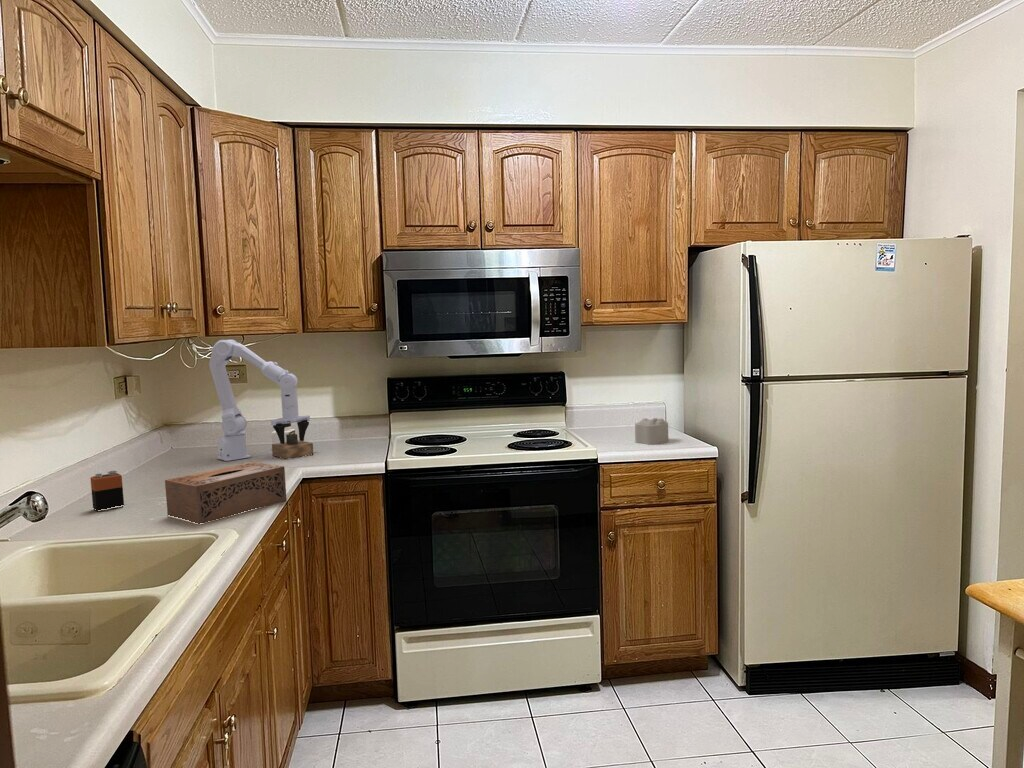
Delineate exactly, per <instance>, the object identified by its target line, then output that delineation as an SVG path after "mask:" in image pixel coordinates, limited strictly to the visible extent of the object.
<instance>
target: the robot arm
mask: <svg viewBox="0 0 1024 768" xmlns="http://www.w3.org/2000/svg"><path fill="white" fill-rule="evenodd" d="M233 358H241V359H244V360H246V361H247V362H249V363H250V364H252V365H254V366H256V367H257V368H259V370H261V374H262V375H263V376H265V377H266V378H268V379H270V380H271V381H272V382H274V383H275V384H277V386H278V387H279V388H280V391H281V392H280V393H281V394H280V397H281V398H280V399H281V412H282V413H281V414H282V415H281V416H282V417H280V419H279V418H276V419H275V418H274V419H271V420H270V426H272V428H273V429H274V431H276V433H277V435H278V437H279V440H280V444H285V439H284V429H285V426H283V425H282V424H287V423H291V424H293V423H295V424H297V428H298V437H299V439H298V440H300V441H305V435H306V432H307V429H308V428H309V427H308V426H309V424H310V422H311V416H310V415H299V402H298V392H297V391H298V390H297V386H298V383H299V380H298V379H299V378H298V377H297V376H296V375H295V374H294V373H292V372H289V370H287V369H284V368H282V367H280V366H279V365H278V364H279V363H278V362H276V361H266V360H264V359H263V358H261V357H260V356H259V355H257V354H256V353H255V352H253V351H252V350H251V349H249V348H248V347H246V346H245V345H244V344H242V343H240V342H238V341H236V340H235V339H231V338H229V339H220V340H218V341H217V342H215V344H214V345H213V346H212V347H211V355H210V359H209V362H208V363H209V364H208V366H209V371H210V373H211V376H212V379H213V380H212V381H213V383H214V386H215V390H216V394H217V396H218V399H219V403H220V406H221V407H220V408H221V410H222V413H221V420H222V423H221V429H222V432H224V435H222V436H218V439H217V450H218V451H217V452H218V456H217V459H219V460H221V461H225V462H229V461H235V460H242V459H248V458H251V457H252V455H249V454H248V451H247V437H246V431H245V429H246V427H247V426H248V425H247V424H248V422H247V419H246V417H244V415H243V413H242V411H241V410H240V408H239V407H238V405H237V402H236V401H237V400H236V398H235V394H234V392H233V388H232V384H231V381H230V378H229V374H228V372H227V368H226V366H227V365H228V363H229V362H230V360H231V359H233ZM287 421H291V422H287Z"/></svg>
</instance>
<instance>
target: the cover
mask: <svg viewBox="0 0 1024 768" xmlns="http://www.w3.org/2000/svg"><path fill="white" fill-rule="evenodd" d="M298 437H299V436H298V433H297V434H296V433H295V434H288V435H286V441H287V442H285V444H280V443H278V444H272V443H271V452H272V453H271V454H272V457H275V456H277V457H276V458H278V457H281V458H280V459H282V458H284V459H283V460H289V459H288V458H292V459H295V458H294V457H298V458H301V457H300V456H304V457H306V456H305V455H310V456H312V455H311V454H314V443H313V442H310V441H305V440H304V441H300V439H298Z"/></svg>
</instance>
